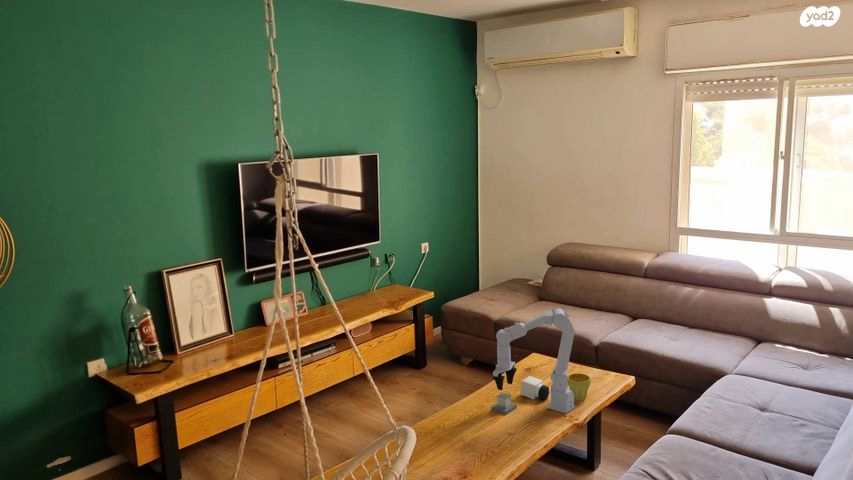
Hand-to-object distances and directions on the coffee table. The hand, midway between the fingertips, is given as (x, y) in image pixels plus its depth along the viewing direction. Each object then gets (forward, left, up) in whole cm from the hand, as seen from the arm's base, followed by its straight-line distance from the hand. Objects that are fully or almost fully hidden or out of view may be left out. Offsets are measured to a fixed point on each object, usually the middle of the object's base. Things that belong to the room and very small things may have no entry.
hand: (504, 386), depth 286 cm
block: (0, +1, -11) cm, 11 cm away
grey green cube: (0, +1, -9) cm, 9 cm away
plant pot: (-21, -28, -11) cm, 37 cm away
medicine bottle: (+2, -18, -6) cm, 19 cm away
